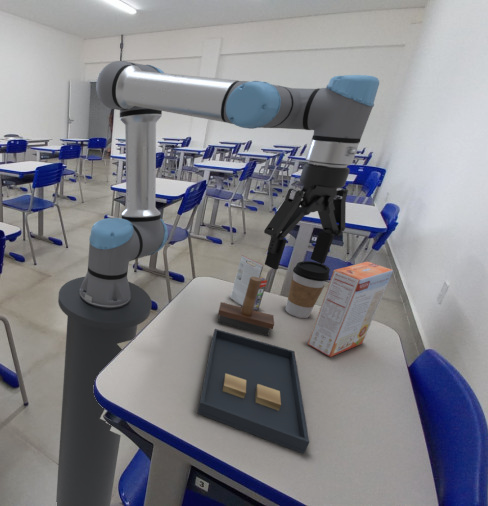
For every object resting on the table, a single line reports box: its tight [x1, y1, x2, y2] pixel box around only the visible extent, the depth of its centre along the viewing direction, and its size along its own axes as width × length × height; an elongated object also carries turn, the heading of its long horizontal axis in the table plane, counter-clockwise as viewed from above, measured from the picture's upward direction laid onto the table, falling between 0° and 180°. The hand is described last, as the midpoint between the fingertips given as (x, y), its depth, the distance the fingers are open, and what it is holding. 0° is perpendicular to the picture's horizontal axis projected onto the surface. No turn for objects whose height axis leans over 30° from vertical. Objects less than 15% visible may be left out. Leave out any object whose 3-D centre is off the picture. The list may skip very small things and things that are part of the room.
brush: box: [217, 277, 275, 337], centre depth 92 cm, size 5×13×14 cm, turn 63°
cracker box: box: [307, 261, 394, 358], centre depth 85 cm, size 14×6×21 cm, turn 115°
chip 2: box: [255, 384, 281, 411], centre depth 69 cm, size 4×4×2 cm
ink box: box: [230, 254, 268, 311], centre depth 103 cm, size 4×8×15 cm, turn 21°
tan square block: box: [222, 373, 246, 398], centre depth 71 cm, size 4×4×2 cm
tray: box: [197, 328, 310, 455], centre depth 73 cm, size 27×17×3 cm, turn 153°
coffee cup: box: [285, 260, 331, 319], centre depth 100 cm, size 8×8×15 cm
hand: (294, 264), depth 77 cm, fingers open, 13 cm apart
